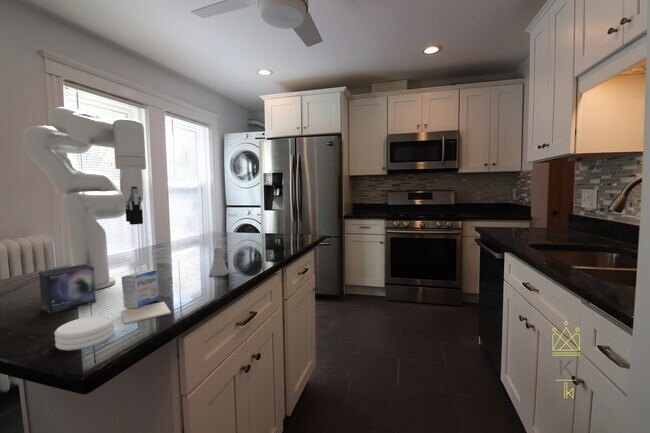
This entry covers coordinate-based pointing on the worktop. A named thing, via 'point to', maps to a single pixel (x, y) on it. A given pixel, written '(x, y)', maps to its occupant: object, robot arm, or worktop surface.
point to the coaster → (84, 332)
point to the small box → (67, 288)
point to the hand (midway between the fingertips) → (134, 222)
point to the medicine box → (140, 288)
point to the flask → (218, 264)
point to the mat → (145, 312)
